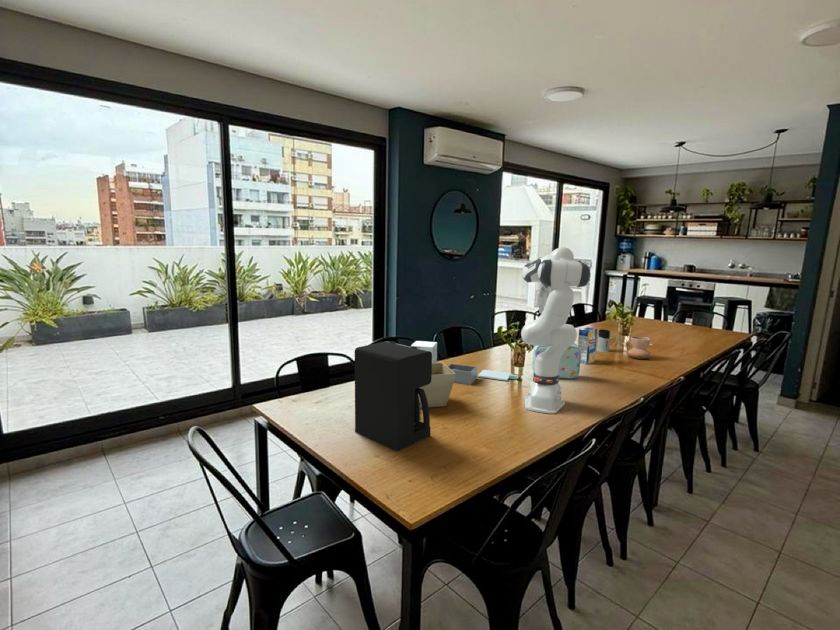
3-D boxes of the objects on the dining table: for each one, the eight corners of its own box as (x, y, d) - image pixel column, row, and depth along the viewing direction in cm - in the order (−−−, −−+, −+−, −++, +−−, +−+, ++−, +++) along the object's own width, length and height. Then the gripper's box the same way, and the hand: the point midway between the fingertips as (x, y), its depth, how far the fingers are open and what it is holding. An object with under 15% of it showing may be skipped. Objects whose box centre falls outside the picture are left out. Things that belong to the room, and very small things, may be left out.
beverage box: (576, 362, 289) (579, 329, 286) (585, 359, 296) (587, 327, 293) (586, 364, 284) (588, 330, 281) (594, 361, 291) (597, 328, 288)
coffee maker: (439, 438, 173) (441, 351, 167) (405, 455, 158) (406, 361, 153) (389, 418, 191) (389, 339, 186) (354, 432, 177) (353, 347, 171)
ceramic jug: (656, 359, 301) (658, 338, 299) (645, 361, 292) (647, 340, 290) (630, 354, 315) (631, 334, 313) (619, 356, 307) (621, 336, 305)
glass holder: (600, 348, 328) (601, 328, 326) (618, 352, 317) (620, 332, 315) (593, 350, 323) (595, 330, 320) (612, 354, 312) (614, 333, 309)
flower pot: (415, 412, 199) (415, 376, 197) (405, 397, 218) (405, 364, 215) (454, 408, 205) (455, 373, 202) (441, 394, 223) (442, 362, 220)
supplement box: (409, 374, 256) (410, 345, 253) (415, 368, 268) (415, 340, 265) (432, 376, 253) (432, 346, 250) (436, 370, 265) (437, 342, 262)
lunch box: (577, 375, 261) (579, 339, 257) (581, 380, 250) (584, 343, 247) (531, 373, 263) (533, 337, 260) (533, 378, 253) (535, 341, 249)
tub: (470, 384, 239) (471, 372, 238) (443, 380, 245) (443, 368, 244) (477, 378, 250) (477, 366, 249) (450, 375, 256) (450, 363, 255)
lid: (515, 383, 244) (516, 379, 243) (477, 378, 252) (477, 373, 252) (520, 377, 255) (520, 373, 255) (483, 372, 264) (483, 368, 264)
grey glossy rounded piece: (457, 377, 249) (457, 370, 248) (450, 376, 250) (451, 369, 249) (459, 375, 252) (459, 368, 251) (453, 374, 253) (453, 368, 253)
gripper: (547, 288, 230) (545, 315, 232) (552, 285, 248) (550, 310, 251) (534, 288, 232) (533, 314, 235) (540, 285, 251) (539, 309, 253)
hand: (542, 311), depth 243 cm, fingers open, 8 cm apart
